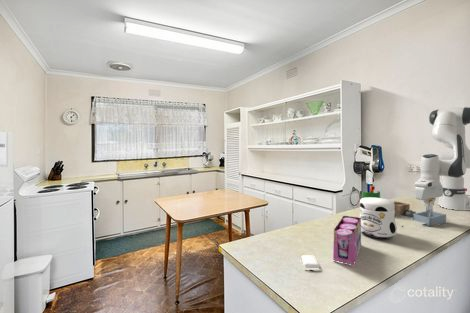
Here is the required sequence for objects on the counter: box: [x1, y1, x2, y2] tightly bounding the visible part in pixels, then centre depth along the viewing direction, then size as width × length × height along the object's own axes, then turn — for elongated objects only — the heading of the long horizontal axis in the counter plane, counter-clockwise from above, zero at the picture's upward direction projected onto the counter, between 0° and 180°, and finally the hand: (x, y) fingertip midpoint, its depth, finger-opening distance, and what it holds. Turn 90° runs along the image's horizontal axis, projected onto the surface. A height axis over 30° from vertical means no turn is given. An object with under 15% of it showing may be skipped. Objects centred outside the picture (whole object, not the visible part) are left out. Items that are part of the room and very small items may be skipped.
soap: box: [301, 254, 320, 268], centre depth 94 cm, size 9×7×3 cm
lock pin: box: [425, 198, 434, 218], centre depth 136 cm, size 4×4×12 cm
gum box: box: [332, 215, 362, 266], centre depth 102 cm, size 24×8×14 cm, turn 145°
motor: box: [361, 185, 381, 199], centre depth 153 cm, size 10×9×20 cm
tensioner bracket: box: [393, 200, 417, 219], centre depth 149 cm, size 12×16×8 cm
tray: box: [412, 210, 447, 228], centre depth 136 cm, size 15×9×5 cm, turn 112°
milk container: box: [358, 197, 398, 239], centre depth 122 cm, size 17×17×18 cm
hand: (429, 205), depth 136 cm, fingers closed on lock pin, 3 cm apart
